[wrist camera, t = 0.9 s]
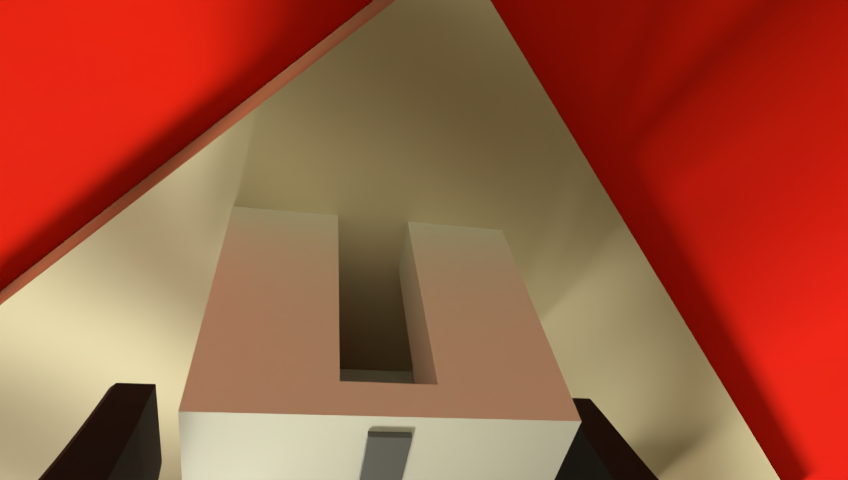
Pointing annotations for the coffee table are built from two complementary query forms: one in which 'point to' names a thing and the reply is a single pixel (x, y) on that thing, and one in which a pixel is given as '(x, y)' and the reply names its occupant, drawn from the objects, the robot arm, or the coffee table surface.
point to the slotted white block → (370, 389)
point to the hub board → (370, 244)
